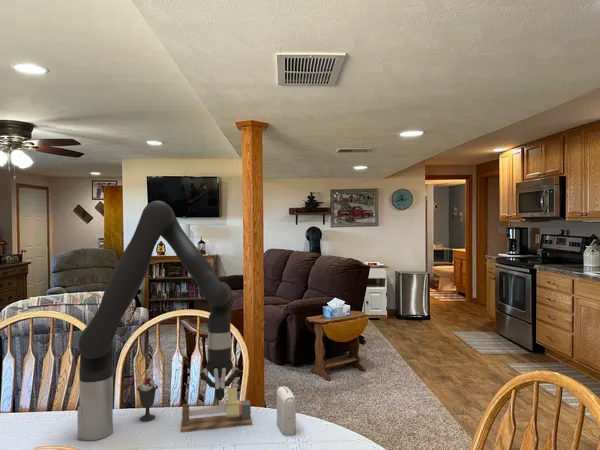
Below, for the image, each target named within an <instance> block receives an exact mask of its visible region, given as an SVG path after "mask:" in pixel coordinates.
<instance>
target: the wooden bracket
mask: <svg viewBox="0 0 600 450" xmlns="http://www.w3.org/2000/svg"><path fill="white" fill-rule="evenodd" d="M189 408H190V403H185V404H184V403H183V404H182V409H181V411H182V412H181V413H182V414H181V416H182V417H181V418H182V419H181V422H180V433H185V432H186V433H187V432H188V433H189V432H197V431H205V430H215V429H223V428H224V429H225V428H233V427H235V428H236V427H245V426H252V425H253V419H252V418H251V419H250V420H242V419H241V414H239V416H236V417H226V414H223V415H221V414H220V415H213V416H204V417H203V416H201V417H194V418H190V416H189Z"/></svg>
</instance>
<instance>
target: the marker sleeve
mask: <svg viewBox="0 0 600 450" xmlns="http://www.w3.org/2000/svg"><path fill="white" fill-rule="evenodd" d="M226 391H227V394H226V395H227V396H226V397H227V399H225V405H226V413H225V415H226V417H236V416H239V401H240V400H239V399H238V387H237V386H235V387H234V386H232V387H227V390H226Z"/></svg>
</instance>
